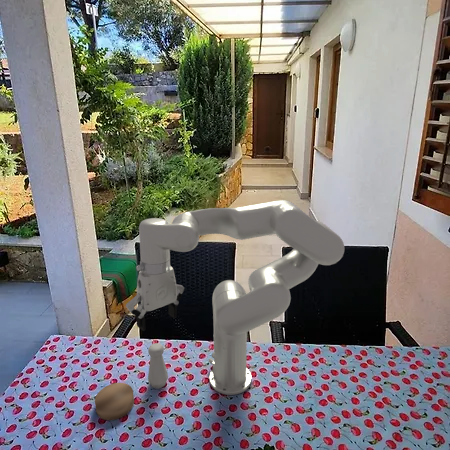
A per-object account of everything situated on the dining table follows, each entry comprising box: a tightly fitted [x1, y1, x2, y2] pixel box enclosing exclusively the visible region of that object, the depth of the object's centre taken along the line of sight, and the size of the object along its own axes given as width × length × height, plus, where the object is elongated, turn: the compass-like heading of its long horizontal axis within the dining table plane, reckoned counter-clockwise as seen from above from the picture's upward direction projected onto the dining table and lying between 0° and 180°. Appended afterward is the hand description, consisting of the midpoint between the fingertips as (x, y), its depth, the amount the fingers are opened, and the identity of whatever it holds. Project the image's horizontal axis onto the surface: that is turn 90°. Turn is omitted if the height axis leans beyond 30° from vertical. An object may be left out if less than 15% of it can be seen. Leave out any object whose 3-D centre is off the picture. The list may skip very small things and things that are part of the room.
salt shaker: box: [147, 342, 169, 389], centre depth 99 cm, size 6×6×13 cm
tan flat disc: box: [94, 382, 135, 421], centre depth 93 cm, size 10×10×3 cm
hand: (157, 322), depth 95 cm, fingers open, 9 cm apart
